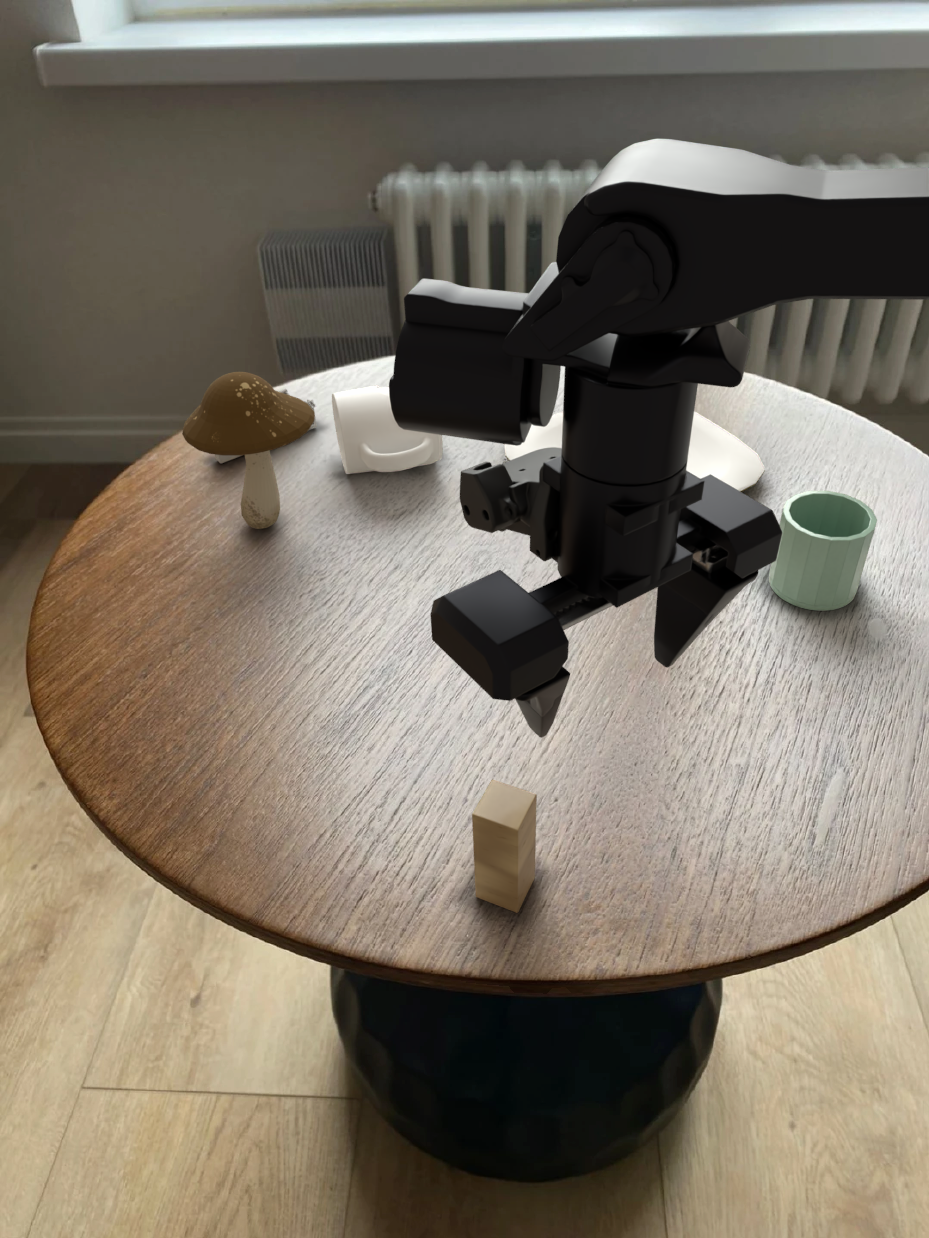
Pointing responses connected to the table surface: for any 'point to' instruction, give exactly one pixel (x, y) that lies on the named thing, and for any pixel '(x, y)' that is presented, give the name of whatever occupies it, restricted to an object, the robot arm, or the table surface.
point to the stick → (504, 845)
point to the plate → (706, 452)
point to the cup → (822, 549)
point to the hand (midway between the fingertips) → (602, 695)
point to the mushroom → (249, 435)
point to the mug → (378, 434)
